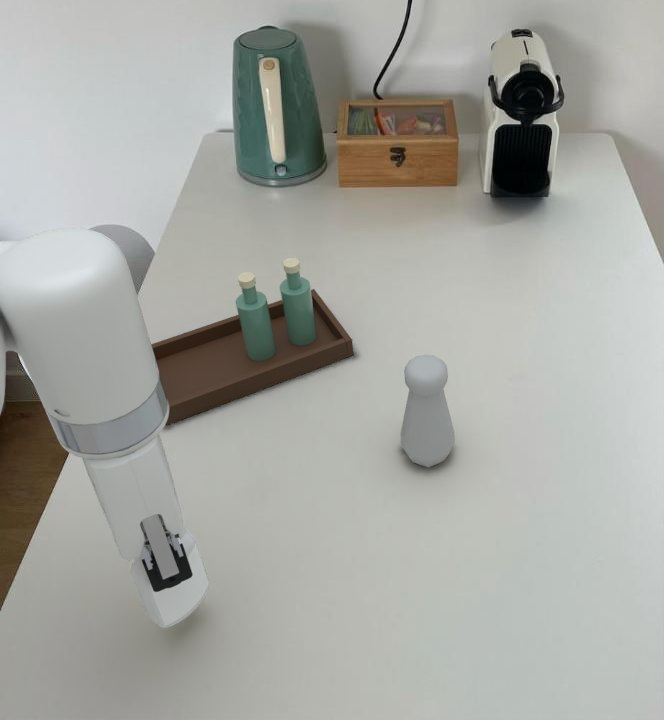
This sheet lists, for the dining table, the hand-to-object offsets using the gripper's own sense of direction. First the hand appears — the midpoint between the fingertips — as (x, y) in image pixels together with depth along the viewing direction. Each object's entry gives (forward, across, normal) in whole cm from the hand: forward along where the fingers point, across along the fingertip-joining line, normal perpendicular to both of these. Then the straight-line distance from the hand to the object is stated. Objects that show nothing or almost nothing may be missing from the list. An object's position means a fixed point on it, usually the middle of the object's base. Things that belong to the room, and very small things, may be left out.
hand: (164, 558), depth 67 cm
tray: (+10, -31, +17) cm, 37 cm away
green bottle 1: (+9, -31, +19) cm, 37 cm away
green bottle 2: (+9, -31, +24) cm, 40 cm away
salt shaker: (+10, -7, +29) cm, 31 cm away
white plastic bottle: (+7, 0, 0) cm, 7 cm away
